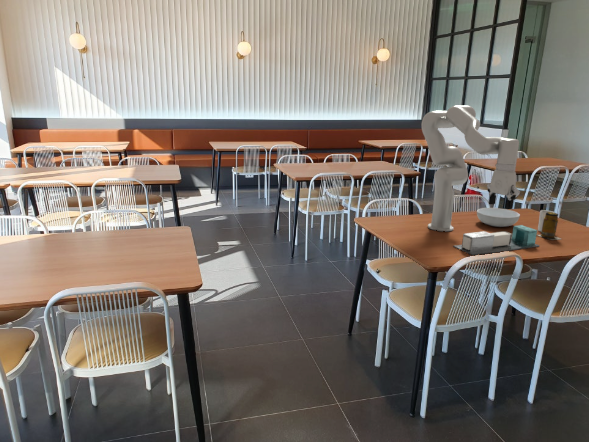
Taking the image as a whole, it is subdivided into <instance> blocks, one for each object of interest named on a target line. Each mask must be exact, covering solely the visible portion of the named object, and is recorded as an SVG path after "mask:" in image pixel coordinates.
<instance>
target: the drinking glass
mask: <svg viewBox="0 0 589 442" xmlns="http://www.w3.org/2000/svg"><path fill="white" fill-rule="evenodd" d="M547 212H553V213H556V212H555V211H551V210H545V209H544V210H543V209H541V210H540V211H539V218H538V226H537V232H538V231H539V232H541V231H542V226H543V220H544V218H545V215H546V213H547Z"/></svg>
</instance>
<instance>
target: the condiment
mask: <svg viewBox="0 0 589 442" xmlns="http://www.w3.org/2000/svg"><path fill="white" fill-rule="evenodd" d="M553 212H554V211H552V212H547V213H546V215H545V218H544V220H543V226H542V231H540V234H537V236H538V237H540V238H544V239H547V240H551V241H554V240H555V241H556V240H562V238H560V237H558V236H556V233H557V227H558V223H559V219H558V218H559V214H558V213H557V212H555V213H553Z"/></svg>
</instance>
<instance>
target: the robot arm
mask: <svg viewBox="0 0 589 442" xmlns="http://www.w3.org/2000/svg"><path fill="white" fill-rule="evenodd" d="M476 116H477V112H476V110H475V108H474V107H473V106H472V105H471V106H470V105H460V104H459V105H458V104H457V105H456V104H455V105H452V106H451V107H449V108H448V109H447V110H432V111H429V112H427V113H425V115H424V116H423V118H422V120H421V131H422V134H423V136H424V140H425V141H426V144H427V149H428V150H429V154H430V158H431V162H432V163H433V164H434V165H435V166H436V167H437V166H439V167H440V168H438V169H437V170H436V171H435V173H434V176H433V177H434V178H433V180H434V195H433V202H432V203H433V207H432V212H431V213H432V215H431V223H428V224H427V227H428V229H430V230H432V231H436V230H437V231H438V232H443V231H445V232H447V233H448V232H452V231H454V226H452V220H453V219H452V217H453V208H454V202H455V201H454V200H455V191H454V188H453V186H460V185H464V184H465V183H466V182H467V181H468V178H469V173H468V168H467V165H466V162H465V159H464V156H463V153H462V151H461V149H460V148H458V147H457V146H452V145H451V146H448V145H447V143H446V139H445V138H444V137H445V136H444V135H443V134H442V132H441V131H440V130H439V129H448V128H449V129H451V128H457V130H458V131H460V132H461V133H462V134H463V135H464V140H465V142H466V143H465V144H467V145H468V147H469V148H471V149H472V150H473V151H474V152H476V153H477V154H479V155H483V156H486V155H497V159H496V160H497V161H496V164H495V169H494V171H493V172H492V175H491V181H490V183H487V185H486V188H487V192H488V195H489V199H488V205H496V200H497V194H498V195H502V196H506V198H507V200H506V206H505V209H507V210H513V207H514V201H516V199H517V198H518V196H519V195H520V193H521V191H520V190H519V189H518V188H517V186H516V185H517V172H516V167H517V159H518V154H519V153H518V152H519V146H520V140H519V139H517V138H505V137H502V136H490V137H489V136H486V137H485V136H484V135H482V134H481V133H480V131H478V130H479V128H480V126H481V122H480V120H479V119H477V118H476ZM443 166H444V167H443ZM437 231H436V232H437Z"/></svg>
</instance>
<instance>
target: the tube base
mask: <svg viewBox="0 0 589 442" xmlns="http://www.w3.org/2000/svg"><path fill="white" fill-rule="evenodd" d="M490 233H491V232H487V231H486V230H485V231H477V232H467V233H463V235H462V239H463V238H464V236H467V237H469V238H472V241H471V248H470V250H468V249H465V248H463V247H462V246H463V240H462V243H461V244H457V245H452V247H453V248H454V247H455V248H454V249H456V248H457V249H456V250H459V249H460V250H459V251H461V250H462V251H461V252H463V251H464V253H465V252H466V253H465V254H467V253H468V255H470V254H471V255H470V256H472V255H475V256H479V255H478V254H482V255H488V253H490V254H495V253H496V252H497V253H501V251H504V252H508V251H517V250H524V249H525V250H526V249H532V248H537V247H539V248H540V245H539V244H538V243H537V244H536V240H537V236H538V229H535V228H532V227H529V226H525V225H523V224H519V225H513V229H512V233H511V234H512V238H511V244H510V245H503V246H495V247H493V241H494V235H493V234H490Z"/></svg>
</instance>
